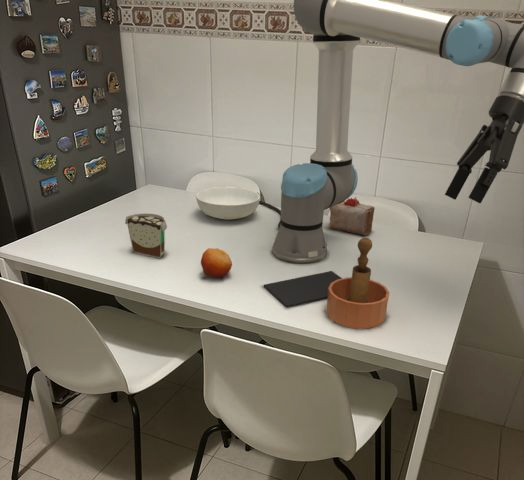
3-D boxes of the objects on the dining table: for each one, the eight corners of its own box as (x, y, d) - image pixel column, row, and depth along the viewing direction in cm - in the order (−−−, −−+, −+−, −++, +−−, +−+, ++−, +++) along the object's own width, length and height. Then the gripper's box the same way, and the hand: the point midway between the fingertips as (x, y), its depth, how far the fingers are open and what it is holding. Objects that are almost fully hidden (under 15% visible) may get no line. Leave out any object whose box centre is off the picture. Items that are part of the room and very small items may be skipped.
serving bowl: (259, 227, 164) (259, 205, 160) (193, 225, 164) (192, 204, 160) (260, 206, 182) (260, 186, 178) (200, 204, 182) (199, 185, 178)
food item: (324, 229, 164) (327, 198, 158) (334, 222, 170) (337, 191, 164) (364, 237, 158) (369, 206, 153) (374, 230, 164) (378, 199, 158)
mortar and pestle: (369, 322, 115) (381, 245, 105) (340, 319, 116) (349, 242, 106) (370, 308, 120) (381, 234, 110) (342, 305, 121) (351, 231, 112)
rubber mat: (263, 286, 129) (263, 284, 128) (331, 272, 136) (331, 270, 136) (286, 307, 120) (286, 305, 120) (357, 291, 128) (358, 289, 127)
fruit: (194, 263, 136) (208, 238, 133) (220, 277, 139) (235, 253, 135) (193, 277, 129) (208, 251, 126) (220, 291, 132) (236, 266, 129)
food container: (177, 251, 146) (175, 217, 141) (165, 259, 142) (162, 224, 136) (141, 244, 150) (138, 210, 145) (128, 251, 146) (124, 216, 140)
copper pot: (315, 306, 121) (317, 283, 117) (362, 296, 126) (365, 273, 122) (348, 333, 111) (351, 309, 107) (397, 320, 116) (401, 297, 113)
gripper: (564, 102, 97) (502, 210, 103) (501, 115, 120) (454, 202, 126) (530, 84, 95) (470, 194, 101) (474, 101, 119) (428, 189, 125)
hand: (461, 198), depth 114 cm, fingers open, 13 cm apart
